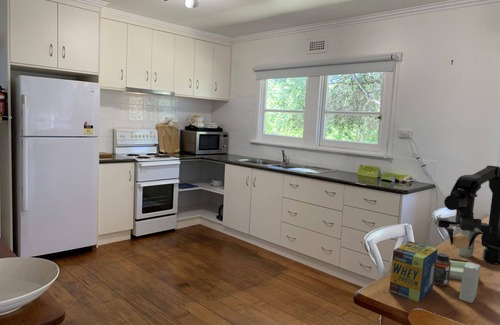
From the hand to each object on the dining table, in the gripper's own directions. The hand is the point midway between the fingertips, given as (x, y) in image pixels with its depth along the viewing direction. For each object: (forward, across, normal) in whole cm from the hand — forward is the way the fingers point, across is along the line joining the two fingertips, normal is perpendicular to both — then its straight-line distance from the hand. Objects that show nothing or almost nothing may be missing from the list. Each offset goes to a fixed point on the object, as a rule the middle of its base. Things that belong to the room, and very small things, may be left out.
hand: (460, 245), depth 153 cm
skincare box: (+12, -2, -24) cm, 26 cm away
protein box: (+12, -20, -24) cm, 33 cm away
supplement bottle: (+12, -9, -14) cm, 20 cm away
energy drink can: (+11, +9, +25) cm, 28 cm away
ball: (-2, 0, 0) cm, 2 cm away
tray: (+11, 0, 0) cm, 11 cm away
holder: (+11, +4, +12) cm, 17 cm away
